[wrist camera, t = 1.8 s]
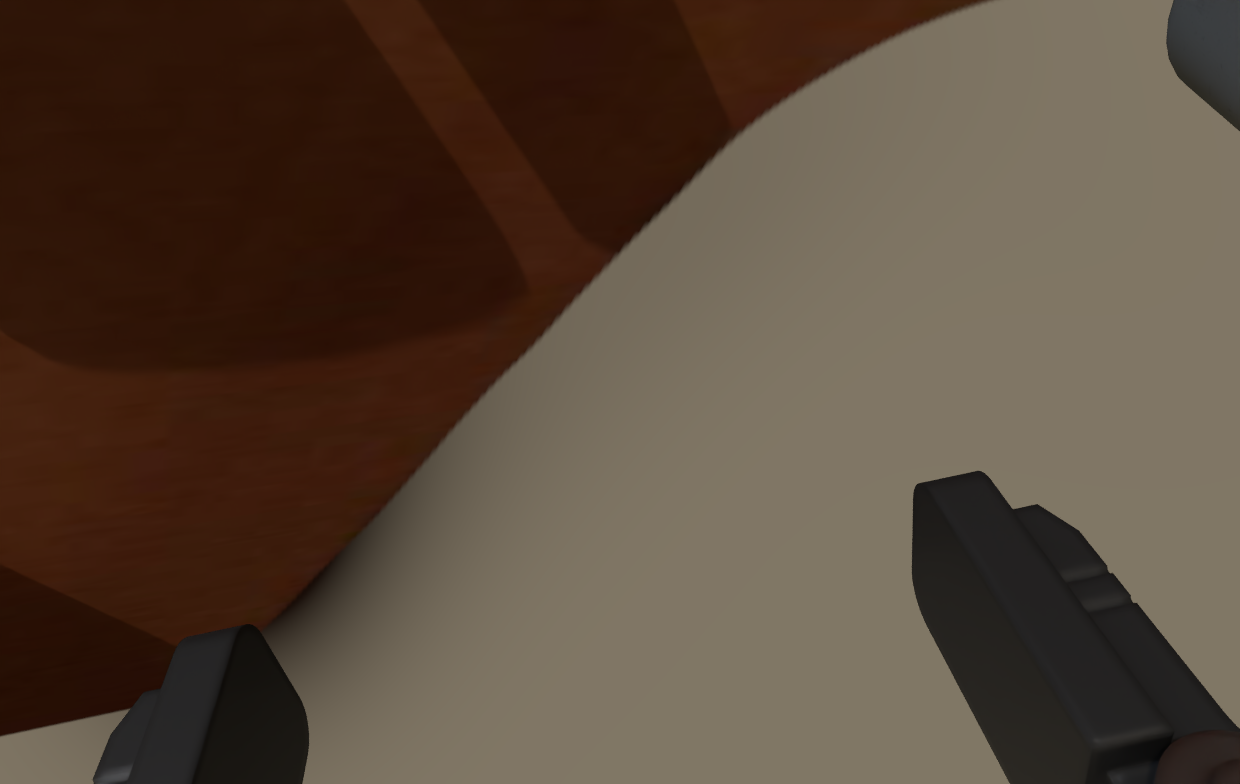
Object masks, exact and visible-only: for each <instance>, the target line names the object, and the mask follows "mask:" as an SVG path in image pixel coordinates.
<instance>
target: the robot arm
mask: <svg viewBox="0 0 1240 784" xmlns="http://www.w3.org/2000/svg"><path fill="white" fill-rule="evenodd" d="M912 541H913V542H912V579H913V586H914V590H915V595H916V599H917V602H918V605H919V608H920V611H921V614H922V616H923V618H924V621H925V623H926V625H927V627H928V629H929V631H930V633H931V634H932V636H933V638H934V640H935V642H936V644H937V646H938V648H939V650H940V651H941V653H942V655H943V657H944V659H945V661H946V663H947V665H948V666H949V669H950V670H951V672H952V674H953V676H954V678H955V680H956V682H957V684H958V686H959V688H960V690H961V692H962V693H963V695H964V697H965V699H966V701H967V703H968V705H969V707H970V709H971V711H972V712H973V714H974V716H975V718H976V720H977V722H978V724H979V726H980V727H981V729H982V731H983V733H984V735H985V737H986V739H987V741H988V743H989V745H990V747H991V749H992V750H993V752H994V754H995V756H996V758H997V760H998V762H999V764H1000V766H1001V767H1002V769H1003V771H1004V773H1005V775H1006V777H1007V779H1008V781H1009V783H1010V784H1240V729H1239V728H1238V727H1237V726H1236V725H1235V724H1234V723H1233V722H1232V720H1231V719H1229V717H1228V716H1227V715H1226V714H1225V713H1224V712H1223V710H1222V709H1221V708H1220V706H1219V705H1218V704H1217V703H1216V701H1215V700H1214V699H1213V698H1212V696H1211V695H1210V694H1209V693H1208V691H1207V690H1206V689H1205V688H1204V686H1203V685H1202V684H1201V683H1200V682H1199V680H1198V679H1197V678H1196V676H1195V675H1194V674H1193V673H1192V671H1191V670H1190V669H1189V668H1188V667H1187V665H1186V664H1185V663H1184V661H1183V660H1182V659H1181V658H1180V656H1179V655H1178V654H1177V653H1176V651H1175V650H1174V649H1173V648H1172V646H1171V645H1170V644H1169V643H1168V641H1167V640H1166V639H1165V638H1164V636H1163V635H1162V634H1161V633H1160V632H1159V630H1158V629H1157V628H1156V626H1155V625H1154V624H1153V623H1152V621H1151V620H1150V619H1149V618H1148V616H1147V615H1146V614H1145V613H1144V612H1143V610H1142V609H1141V608H1140V607H1139V605H1138V604H1137V603H1133V602H1132V600H1131V595H1130V594H1129V593H1128V592H1127V590H1126V589H1125V588H1124V586H1123V585H1122V584H1121V583H1120V581H1119V580H1118V579H1117V578H1116V576H1115V575H1114V574H1113V573H1109V572H1108V570H1107V565H1106V564H1105V563H1104V561H1103V560H1102V559H1101V558H1100V556H1099V555H1098V554H1097V553H1096V551H1095V550H1094V549H1093V548H1092V546H1091V545H1090V544H1089V543H1088V541H1087V540H1086V539H1085V538H1084V536H1083V535H1082V534H1081V533H1080V531H1079V530H1077V529H1075V528H1074V527H1072V526H1071V525H1069V524H1068V523H1066V522H1064V521H1063V520H1061V519H1060V518H1058V517H1057V516H1055V515H1053V514H1052V513H1050V512H1049V511H1047V510H1046V509H1044V508H1042V507H1041V506H1039V505H1038V504H1036V505H1031V506H1027V507H1022V508H1018V509H1012V508H1011V506H1010V505H1009V504H1008V503H1007V501H1006V500H1005V498H1004V497H1003V496H1002V494H1001V493H1000V491H999V490H998V489H997V487H996V486H995V485H994V483H993V482H992V481H991V479H990V478H989V477H988V476H987V475H986V474H985V473H983V472H981V471H975V472H971V473H966V474H961V475H957V476H952V477H947V478H942V479H938V480H933V481H928V482H923V483H919V484H917V485H916V487H915V489H914V495H913V539H912ZM308 749H309V731H308V722H307V716H306V712H305V709H304V706H303V703H302V701H301V699H300V697H299V696H298V694H297V692H296V691H295V689H294V687H293V686H292V684H291V682H290V681H289V679H288V677H287V676H286V674H285V672H284V670H283V669H282V667H281V666H280V664H279V662H278V660H277V659H276V657H275V656H274V654H273V652H272V651H271V649H270V647H269V646H268V644H267V642H266V640H265V639H264V637H263V636H262V634H261V632H260V631H259V630H258V629H257V628H256V627H255V626H253V625H251V624H246V625H241V626H237V627H232V628H227V629H222V630H218V631H213V632H208V633H204V634H199V635H194V636H190V637H186V638H184V639H183V640H182V641H181V642H180V643H179V644H178V646H177V648H176V650H175V652H174V655H173V657H172V660H171V663H170V665H169V668H168V671H167V674H166V676H165V679H164V682H163V685H162V687H161V689H157V690H152V691H147V692H144V693H143V694H142V695H141V696H140V698H139V699H138V700H137V702H136V703H135V704H134V705H133V707H132V708H131V709H130V711H129V712H128V713H127V714H126V716H125V717H124V718H123V719H122V721H121V722H120V723H119V725H118V726H117V727H116V729H115V730H114V731H113V732H112V734H111V735H110V738H109V740H108V743H107V745H106V747H105V750H104V753H103V755H102V757H101V760H100V762H99V765H98V767H97V770H96V772H95V775H94V777H93V782H94V784H302V782H303V777H304V772H305V766H306V761H307V756H308Z"/></svg>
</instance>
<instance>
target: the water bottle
mask: <svg viewBox="0 0 1240 784" xmlns="http://www.w3.org/2000/svg"><path fill="white" fill-rule="evenodd" d="M1167 49H1168V56H1169V60H1170V62H1171V64H1172V66H1173V68H1174V70H1175V72H1176V74H1177V76H1178V77H1179V78H1180V79H1181V80H1182V81H1183V82H1184V83H1185V84H1186V85H1187V86H1188V87H1189V88H1190V89H1192V90H1193V91H1194V92H1195V93H1196V94H1197V95H1198V96H1200V97H1201V98H1202V99H1203V100H1204V101H1206V102H1207V103H1208V104H1209V105H1210V106H1211V107H1212V108H1213V109H1215V110H1216V111H1217V112H1218V113H1219V114H1220V115H1222V116H1223V117H1224V118H1225V119H1226V120H1227V121H1229V122H1230V123H1231V124H1232V125H1233V126H1234V127H1235V128H1237V129H1238V130H1239V131H1240V0H1174V1H1173V5H1172V8H1171V12H1170V15H1169V19H1168V29H1167Z"/></svg>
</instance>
